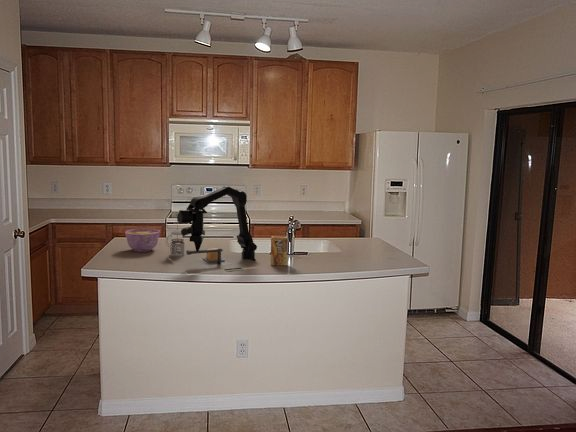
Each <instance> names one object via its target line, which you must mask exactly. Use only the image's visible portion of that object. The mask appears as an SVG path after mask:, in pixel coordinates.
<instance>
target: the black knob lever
mask: <svg viewBox="0 0 576 432" xmlns="http://www.w3.org/2000/svg"><path fill="white" fill-rule="evenodd" d="M209 249H210V250H207V249H199V250H197V251H196V250H186V255H187V256H188V255H192V254H193V255H194V254H195V255H196V254H207V253H209V252H218V264H221V258H222V252H223V250H224V249H223V248H217V249H213V248H209Z"/></svg>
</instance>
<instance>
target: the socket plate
mask: <svg viewBox="0 0 576 432" xmlns="http://www.w3.org/2000/svg"><path fill="white" fill-rule="evenodd" d="M198 259H199V260H200V261H202V262H203V263H205V264H206V265H207V266H209V267H217V266H218V267H220V266H229V265H232V263H231V262H229V261H227V260H225V259H224V258H223V257H221V264H218V260H216V261H208V260H207V256H206V257H198Z"/></svg>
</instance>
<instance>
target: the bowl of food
mask: <svg viewBox="0 0 576 432" xmlns="http://www.w3.org/2000/svg"><path fill="white" fill-rule="evenodd" d="M160 231H161V230H159V229H156V228H133V229H128V230H125V232H124V234H125V238H126V241H127V244H128V246H129V248H130V249H132V250H134V251H136V252H138V253H139V252H140V253H145V252H150V251H151V250H153V249H154V248H156V247H157V245H158V242H159V238H160V233H161V232H160Z"/></svg>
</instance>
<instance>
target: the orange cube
mask: <svg viewBox="0 0 576 432" xmlns="http://www.w3.org/2000/svg"><path fill="white" fill-rule="evenodd" d="M210 249H211V248H206V250H210ZM212 249H218V247H215V248H213V247H212ZM206 257H207V260H208V261H216V260H218V252H209V253H206Z"/></svg>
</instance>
